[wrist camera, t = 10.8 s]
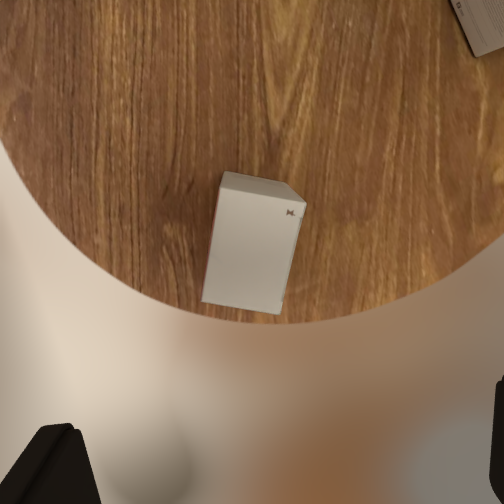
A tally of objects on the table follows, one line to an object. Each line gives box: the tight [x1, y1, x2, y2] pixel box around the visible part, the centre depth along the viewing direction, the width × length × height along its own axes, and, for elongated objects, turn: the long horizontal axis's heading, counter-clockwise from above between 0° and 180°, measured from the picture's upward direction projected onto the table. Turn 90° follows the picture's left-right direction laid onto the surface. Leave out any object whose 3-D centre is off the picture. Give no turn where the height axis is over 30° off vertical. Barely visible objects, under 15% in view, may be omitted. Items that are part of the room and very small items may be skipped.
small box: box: [200, 171, 307, 315], centre depth 29 cm, size 8×6×10 cm
